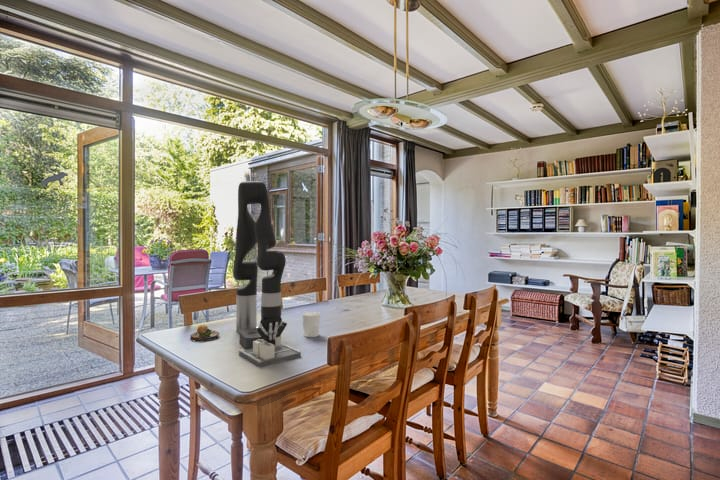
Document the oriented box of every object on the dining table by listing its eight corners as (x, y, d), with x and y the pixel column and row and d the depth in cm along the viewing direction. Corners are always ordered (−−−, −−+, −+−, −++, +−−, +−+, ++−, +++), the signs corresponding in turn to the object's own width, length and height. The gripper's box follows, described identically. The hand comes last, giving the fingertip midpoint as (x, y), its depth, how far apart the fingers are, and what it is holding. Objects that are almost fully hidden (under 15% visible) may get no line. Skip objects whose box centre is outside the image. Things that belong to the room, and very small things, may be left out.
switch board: (239, 355, 143) (239, 350, 143) (278, 346, 154) (278, 341, 154) (259, 367, 131) (259, 361, 131) (300, 356, 142) (300, 351, 142)
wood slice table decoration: (222, 339, 164) (222, 322, 164) (194, 343, 157) (194, 326, 157) (214, 332, 174) (214, 317, 174) (187, 337, 167) (187, 320, 166)
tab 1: (252, 353, 140) (253, 339, 140) (262, 351, 142) (262, 337, 142) (257, 355, 137) (257, 341, 137) (267, 353, 140) (267, 339, 140)
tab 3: (267, 344, 150) (267, 332, 150) (276, 343, 153) (276, 330, 152) (272, 347, 147) (272, 334, 147) (280, 345, 150) (281, 332, 150)
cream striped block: (259, 356, 136) (260, 342, 136) (269, 354, 138) (269, 341, 138) (264, 359, 133) (265, 345, 133) (274, 357, 136) (274, 343, 135)
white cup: (299, 336, 169) (299, 314, 169) (307, 332, 176) (308, 311, 176) (314, 338, 166) (314, 316, 166) (322, 334, 173) (323, 312, 173)
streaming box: (246, 351, 147) (246, 338, 147) (238, 342, 160) (238, 330, 160) (281, 346, 155) (281, 334, 155) (271, 337, 167) (271, 326, 167)
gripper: (281, 300, 150) (281, 343, 150) (250, 304, 141) (250, 350, 141) (291, 303, 144) (291, 347, 144) (259, 307, 135) (259, 355, 136)
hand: (271, 348), depth 143 cm, fingers closed
